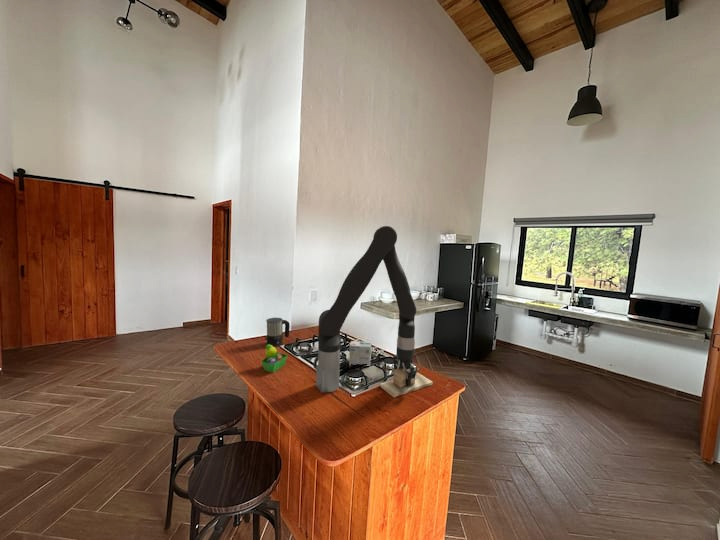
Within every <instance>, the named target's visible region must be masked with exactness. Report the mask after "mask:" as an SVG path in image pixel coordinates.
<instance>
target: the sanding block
mask: <svg viewBox="0 0 720 540" xmlns="http://www.w3.org/2000/svg"><path fill="white" fill-rule="evenodd" d="M407 370H409V369H407ZM408 375H409V373H408ZM392 380H393V383H394V384H395V385H397V386H398V387H399V388H403V387H406V386H405V384H406V373H404V369H403V368H401V369H393V379H392ZM413 384H415V378H413V379H411V385H413Z"/></svg>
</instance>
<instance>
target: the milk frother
mask: <svg viewBox="0 0 720 540" xmlns="http://www.w3.org/2000/svg"><path fill="white" fill-rule="evenodd" d="M265 322H266V346H267V345H269V344H270V345H272V346H273V347H274V348H276V347H279V346H281V345H283V344H284V342H283V340H284V338H283V337H285V338H289V337H290V327H291V326H290V322H289V321H287V320H286V319H283V318H282V317H269V318H267V319H266V320H265ZM283 325H284V327H283ZM283 328H284V329H283ZM283 330H284V332H283ZM283 333H284V336H283Z"/></svg>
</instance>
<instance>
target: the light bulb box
mask: <svg viewBox="0 0 720 540" xmlns="http://www.w3.org/2000/svg"><path fill="white" fill-rule="evenodd" d="M348 358H349V361H348V365H349V366H351V364H355V363H356V364H367V365H368V366H370V367H371V362H370V361H372V359H371V358H372V342H371V341H358V340H356V341H354V340H351V341H350V344H349V357H348Z"/></svg>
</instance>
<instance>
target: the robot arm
mask: <svg viewBox="0 0 720 540" xmlns="http://www.w3.org/2000/svg"><path fill="white" fill-rule="evenodd" d="M397 241H398V233H397V231H396V229H395V228H393V227H392V226H389V225H384V226H380V227H379V228H377V229H376V230H375V232H374V233H373V238H372V241H371V242H370V244H369V246H368V248H367V250H366V251H365V253H364V254H362V256H361V257H360V258H359V260H357V262H356V263H355V264H354V266H353V267H352V268H351V270H350V271H349V273H348V274H347V276H346V277H345V279H344V281H343V283H342V284H341V287H340V290H339V292H338V293H337V297H336V299H335V301H334V303H333V304H332V306H330V309H326V310H324V311H322V313H321V314H320V315H319V317H318V333H317V334H318V336H317V337H318V339H317V340H318V343H317V344H318V350H317V351H318V357H317V359H318V360H317V365H316V366H315V367H316V368H315V369H316V370H315V387H316V388H317V389H318V390H319V391H320V393H333V392H336V391H337V390H338V389H339V388H340V372H341V371H340V368H341V366H340V365H341V329H342V327H343V325H344V323H345V321H346V319H347V317H348V316H349V314H350V312H351V310H352V308H353V307H354V306H355V304H357V302H358V301H359V299H360V298H361V296H362V294H363V293H364V292H365V291H366V288H367V287H368V286H369V284H370V282H371V281H372V279H373V278H374V276H375V274H376V272H377V270H378V269H379V266H380V265H381V263H382V261H383V263H384V266H385V269H386V272H387V277H388V279H389V283H390V286H391V289H392V291H393V294H394V296H395V299H396V304H397V308H398V319H399V320H398V321H399V322H398V327H397V338H396V353H395V354H396V355H393V356H392V360H393V361H392V362H393V370H396V369H401V368H403V369H404V373H406V384H405V386H407V387H408V386H410V385H411V379H413V378H415V376H416V373H418V372H417V371H418V365H415V364H413V359H414V357H415V347H416V346H415V344H416V343H415V339H416V338H415V333H416V332H415V330H416V326H415V318H416V317H415V315H416V314H417V307H416V303H415V301H414V299H413V296H412V292H411V289H410V285H409V281H408V278H407V275H406V272H405V271H404V268H403V267H402V265H401V261H400V260H399V257H398V255H397V254H398V253H397V251H396V246H395V245H396V243H397ZM407 369H409V370H407ZM408 373H409V375H408Z"/></svg>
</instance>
